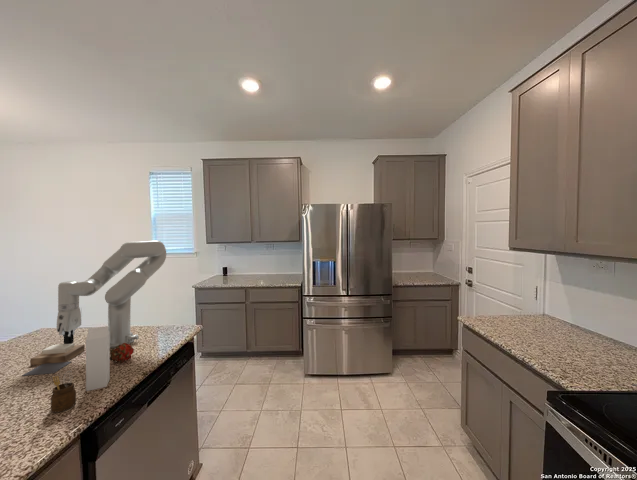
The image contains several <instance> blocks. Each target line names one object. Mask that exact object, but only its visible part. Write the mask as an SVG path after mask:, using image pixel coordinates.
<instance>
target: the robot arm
mask: <svg viewBox="0 0 637 480" xmlns="http://www.w3.org/2000/svg"><path fill="white" fill-rule="evenodd" d="M139 258H140V259H141V258H142V259H143V258H145V259H144V260H143V261H142V262H141V263H140V264H139V265H137V266H136V267H135V268H134V269H132V270H130V271H129V272H128V273H127V274H125V275H124V276H122V278H121V279H119V280H118V281H117V282H116V283H115V284H114V285H112V286H111V287H110V288H109V289H108V290H107V291H106V292H105V294H104V300H105V302H106V303H107V305H108V308H107V326H108V331H109V332H110V349H115V348H116V347H117V346H118V345H122V344H123V343H127V344H129V345H130V344H132V343H133V342H135V341H134V340H139V334H133V333H134V332H131V303H132V301H131V299H132V296H134V295H135V294H136V293H137V292H138V291H140V289H142V288H143V287H144V285H145V284H146V282H147V281H148V280H149V279H150V278H151V277H152V276H153V275H154V274H155V273H156V272H157V271H158V270H160V268H161V267H162V266H163V265H164V263H165V262H166V259H167V249H166V246H165V244H164V242H161V240H148V241H147V240H146V241H128V242H125V243H123V244H121V246H120V247H119V249H117V250H116V251H115V252H114V253H113V254H112V255H110V257H108V258H107V259H106V260H105V261H104V262H103V263H102V265H101V266H100V268H99V269H98V270H97V271H95V273H93V274H92V275H91V276H90V277H89V278H87V279H86V280H84V281H76V280H75V281H74V280H73V281H72V280H70V281H63V282H60V283H59V284H58V287H57V292H58V293H57V297H58V298H57V299H58V301H57V302H58V304H57V311H58V312H57V317H56V318H57V319H56V332H57V333H58V335H59V336H62V337H63V344H74V342H75V341H74V338H75V337H74V335H75V332H76V330H77V329H78V328H80V327H81V326H82V314H81V313H82V312H81V308H80V297H89V296H92V295H94V294H96V293H97V292H99V290H101V289H102V287H104V286H105V285H106V284H107V283H108V282H109V281H111V279H112V278H113V277H116V275H118V274H119V273H121V271H123V269H124V268H126V267H127V266H129V264H130V263H131V262H132V261H134V260H135V259H139Z"/></svg>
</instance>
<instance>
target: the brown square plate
mask: <svg viewBox="0 0 637 480" xmlns="http://www.w3.org/2000/svg"><path fill="white" fill-rule="evenodd" d="M83 352H86V344H77V345H75V344H74V348H73V349H71V350H69V351H68V352H66V353H56V354H42V352H41V353H39V354H37V355H35V356H33V357H31V358H30V361H29V362H30V366H40V365H42V364H47V363H59V362H70V360H72V359H74V358H75V357H77V356H79V355H80V354H81V353H83Z"/></svg>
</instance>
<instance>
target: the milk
mask: <svg viewBox="0 0 637 480" xmlns="http://www.w3.org/2000/svg"><path fill="white" fill-rule="evenodd" d="M110 349H111V348H110V332H109V331H108V325H105V326H99V327H97V326H96V327H91V328H90V327H89V328H88V329H87V335H86V338H85V391H86V392H88V391H89V392H90V391H93V390H98V389H102V388H107V386H108V385H109V382H110V378H111V377H110V376H111V374H110V373H111V372H110V370H111V369H110V368H111V367H110V364H111V363H110V362H111V360H110V356H111V354H110V353H111V352H110V351H111V350H110Z"/></svg>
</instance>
